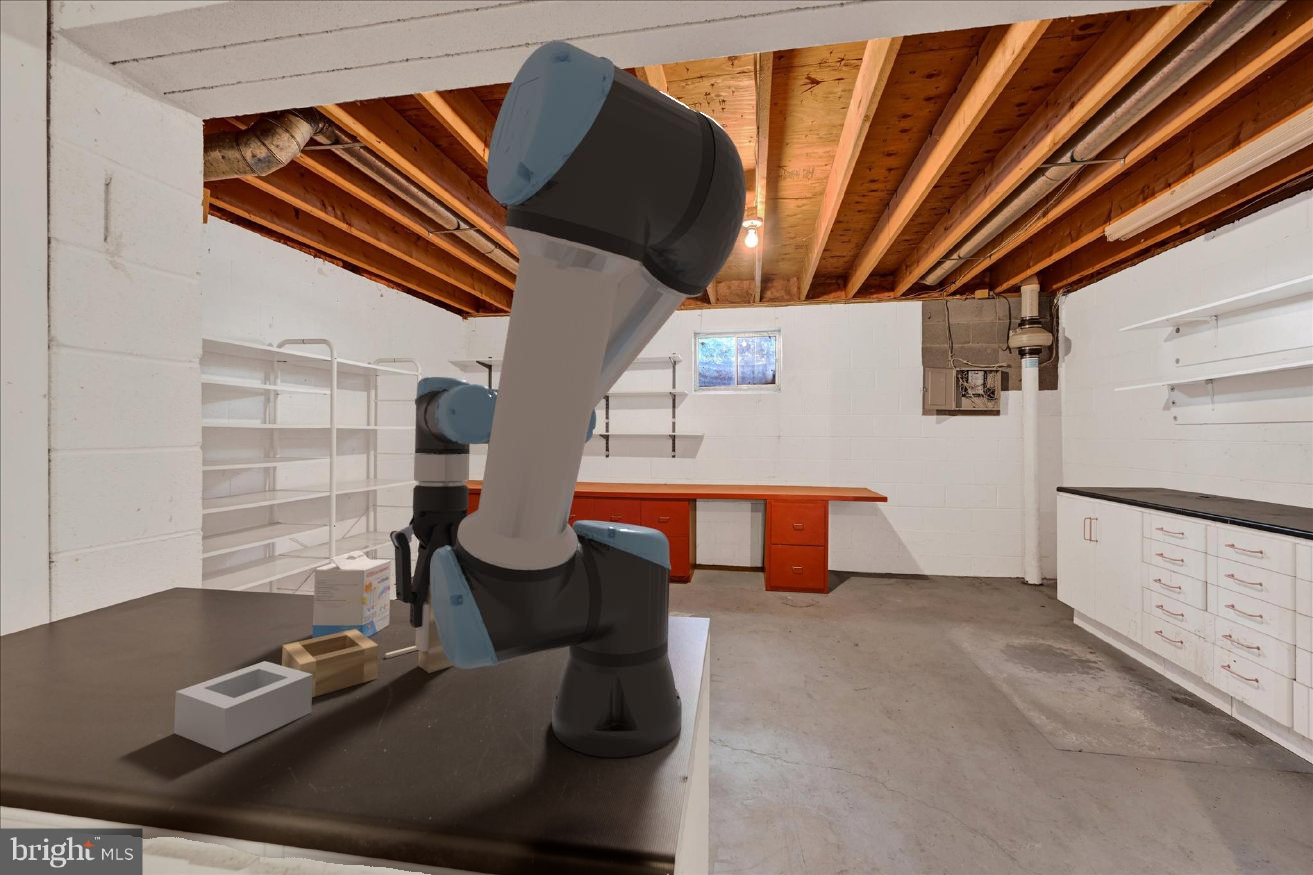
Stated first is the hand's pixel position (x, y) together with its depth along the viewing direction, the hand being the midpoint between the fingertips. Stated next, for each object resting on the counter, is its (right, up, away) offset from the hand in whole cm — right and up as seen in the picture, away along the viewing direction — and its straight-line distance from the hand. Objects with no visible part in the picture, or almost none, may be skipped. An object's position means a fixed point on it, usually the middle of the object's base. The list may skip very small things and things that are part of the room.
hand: (436, 643), depth 75 cm
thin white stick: (-5, -3, +6) cm, 9 cm away
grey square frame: (-15, -2, -16) cm, 22 cm away
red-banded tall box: (0, -3, 0) cm, 3 cm away
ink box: (-20, -3, +12) cm, 24 cm away
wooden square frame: (-13, -3, -5) cm, 14 cm away
